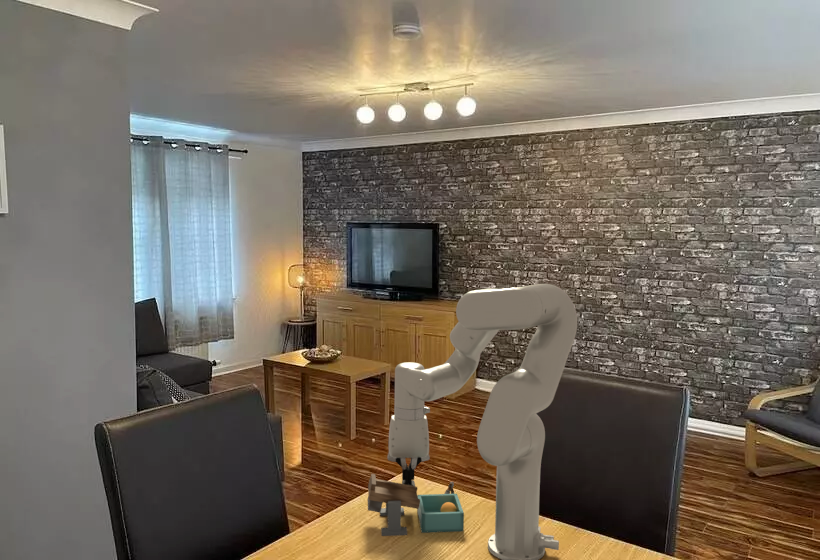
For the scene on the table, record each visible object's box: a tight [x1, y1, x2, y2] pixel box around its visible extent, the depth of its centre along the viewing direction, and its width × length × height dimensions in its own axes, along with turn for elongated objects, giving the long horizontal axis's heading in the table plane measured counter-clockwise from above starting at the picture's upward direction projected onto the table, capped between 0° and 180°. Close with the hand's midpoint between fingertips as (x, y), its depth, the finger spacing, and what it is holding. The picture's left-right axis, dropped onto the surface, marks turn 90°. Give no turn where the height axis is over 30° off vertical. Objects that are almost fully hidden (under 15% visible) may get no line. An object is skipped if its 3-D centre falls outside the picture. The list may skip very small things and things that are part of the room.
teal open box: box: [416, 493, 465, 534], centre depth 152 cm, size 10×11×4 cm
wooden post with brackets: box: [443, 481, 455, 494], centre depth 163 cm, size 2×8×4 cm, turn 151°
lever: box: [367, 473, 420, 513], centre depth 154 cm, size 12×14×6 cm
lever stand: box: [379, 501, 408, 537], centre depth 151 cm, size 6×12×8 cm, turn 5°
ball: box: [441, 502, 457, 512], centre depth 152 cm, size 4×4×4 cm
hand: (408, 482), depth 159 cm, fingers closed
